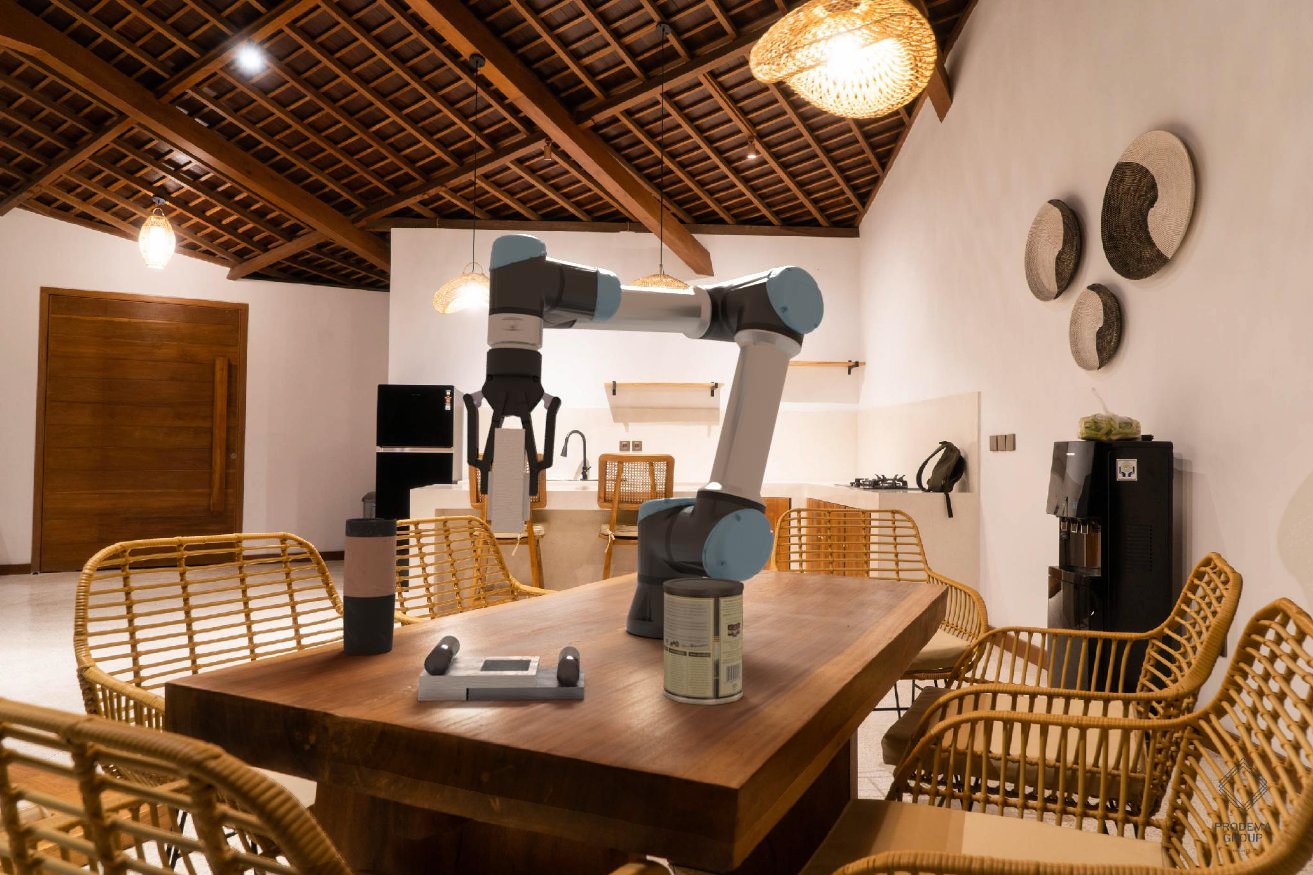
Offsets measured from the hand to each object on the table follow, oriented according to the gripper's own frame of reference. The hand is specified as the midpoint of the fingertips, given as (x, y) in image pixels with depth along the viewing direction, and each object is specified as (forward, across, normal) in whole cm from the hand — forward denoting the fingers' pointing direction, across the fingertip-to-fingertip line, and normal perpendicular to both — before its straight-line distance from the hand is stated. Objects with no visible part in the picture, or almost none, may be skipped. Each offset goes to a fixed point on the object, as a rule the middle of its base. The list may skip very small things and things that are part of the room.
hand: (508, 519), depth 113 cm
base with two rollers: (+21, +1, -6) cm, 22 cm away
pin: (+2, 0, 0) cm, 2 cm away
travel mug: (+22, -23, +16) cm, 35 cm away
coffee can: (+21, +26, -8) cm, 35 cm away
